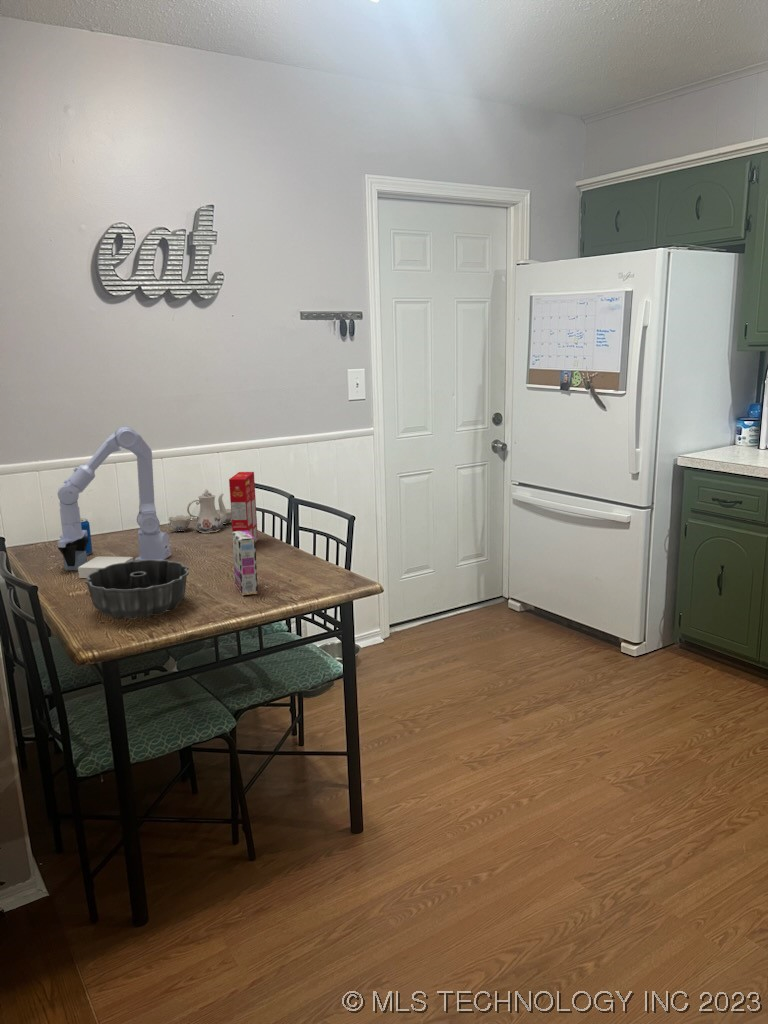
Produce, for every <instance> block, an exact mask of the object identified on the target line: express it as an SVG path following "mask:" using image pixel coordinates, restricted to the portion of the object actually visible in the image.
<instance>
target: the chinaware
mask: <svg viewBox="0 0 768 1024" xmlns="http://www.w3.org/2000/svg"><path fill="white" fill-rule="evenodd" d="M223 496H224V493H220V494H219V495H218V499H217V500H218V501H217V502H218V509H217V508H216V505H215V503H216V502H215V498H216V495H215V494H212V493H211V492H210V491H209V490H208V489H207V488H206V489H205V490H204V492H203V493H202V494H201V495H198V497H197V498H198V499H194V500H191V501H190V502H189V503H188V504H187V506H186V511H187V514H188V515H187V516H185V515H183V514H181V515H176V516H169V518H168V521H169V522H167V524H166V529H167V530H168V531H172V530H173V531H174V532H177V531H178V530H180V531H181V530H186V529H188V527H189V526H190V523H191V520H192V522H194V526H195V529H196V530H197V532H198V531H201V532H209V531H216V530H219V529H220V530H221V528H222V527H223V526H224V525H223V523H230V522H229V521H231V522H232V517H231V508H226V506H225V503H224V500H223ZM193 503H195V504H196V505H197V506H198V505H199V511H198V515H193V514H191V512H190V507H191V505H192V504H193ZM169 524H171V526H172V528H169Z"/></svg>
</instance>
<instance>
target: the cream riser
mask: <svg viewBox="0 0 768 1024" xmlns="http://www.w3.org/2000/svg"><path fill="white" fill-rule="evenodd" d="M128 561H134V557H133V556H95V557H94V558H92V559H90V560H87V563H85V564H83V565H81V566H80V567H78V570H77V571H78V578H87V576H88V575H89V574H90V573H93V572H96V570H97V569H100V568H105V567H107V566H109V565H112V564H117V563H126V562H128Z"/></svg>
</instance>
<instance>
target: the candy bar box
mask: <svg viewBox="0 0 768 1024" xmlns="http://www.w3.org/2000/svg"><path fill="white" fill-rule="evenodd" d="M231 534H232V549H233V550H232V551H233V552H232V553H233V569H234V573H233V574H234V585H235V584H236V585H237V587H238V588H239V590H240V591H241V593H246V592H252V591H258V590H259V589H258V571H257V551H256V550H257V548H256V546H257V545H256V544H257V542H256V543H255V538H254V537H253V536H252V534H251V533H250V532H249V531H248V530H246V531H236V532H232V531H231ZM237 587H236V588H237ZM239 590H238V591H239ZM258 592H259V591H258Z"/></svg>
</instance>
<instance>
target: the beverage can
mask: <svg viewBox="0 0 768 1024" xmlns="http://www.w3.org/2000/svg"><path fill="white" fill-rule="evenodd" d="M80 520H81V528H82V530H87V535H88V536H86V537H84V538H89V541H88V543H87V546H86V549H85V551H86V555H87V556H90V555H91V553H92V552H93V545H92V536H91V535H92V534H91V526H90V522H89V521H88V519H87V518H81V517H80ZM89 554H90V555H89Z"/></svg>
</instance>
